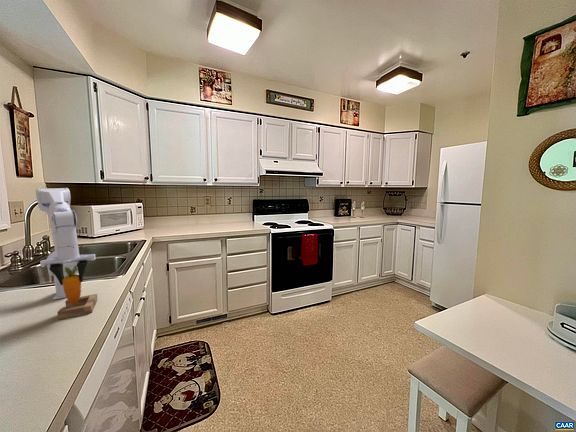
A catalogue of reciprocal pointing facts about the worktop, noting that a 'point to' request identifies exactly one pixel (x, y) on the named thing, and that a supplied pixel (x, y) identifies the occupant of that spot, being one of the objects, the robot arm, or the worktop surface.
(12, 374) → the worktop surface
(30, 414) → the worktop surface
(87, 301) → the walnut bracket
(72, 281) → the carrot
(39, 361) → the worktop surface
